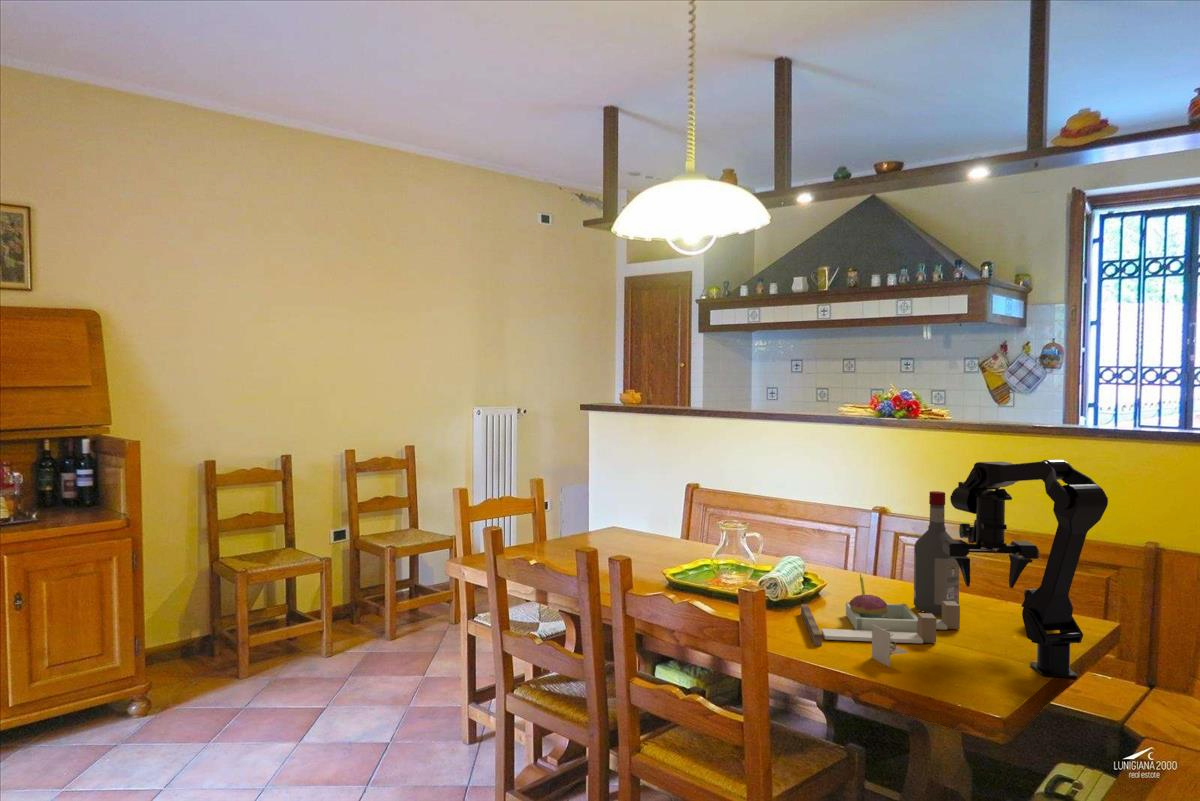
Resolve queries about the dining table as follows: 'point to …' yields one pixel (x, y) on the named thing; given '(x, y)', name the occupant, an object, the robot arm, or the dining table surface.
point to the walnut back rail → (811, 625)
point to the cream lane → (891, 632)
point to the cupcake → (868, 604)
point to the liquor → (934, 563)
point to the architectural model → (883, 645)
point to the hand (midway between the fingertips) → (989, 587)
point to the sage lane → (905, 618)
